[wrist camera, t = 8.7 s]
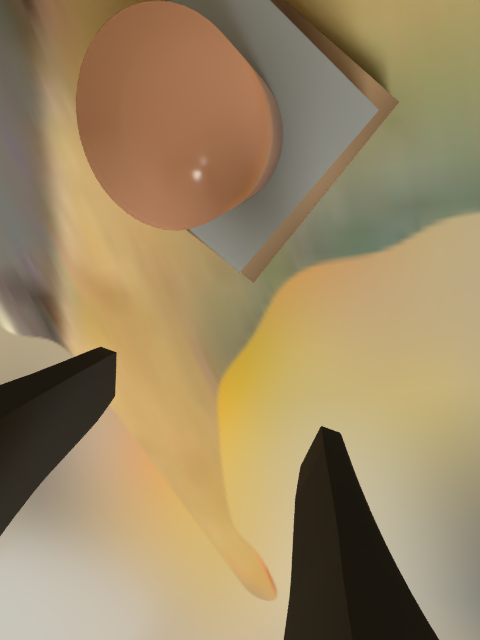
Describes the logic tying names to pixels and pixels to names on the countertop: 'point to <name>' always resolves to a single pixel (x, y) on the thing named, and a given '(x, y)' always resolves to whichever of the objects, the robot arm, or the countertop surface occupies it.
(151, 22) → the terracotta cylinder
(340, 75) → the gray slab
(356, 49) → the countertop surface
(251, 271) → the walnut slab
